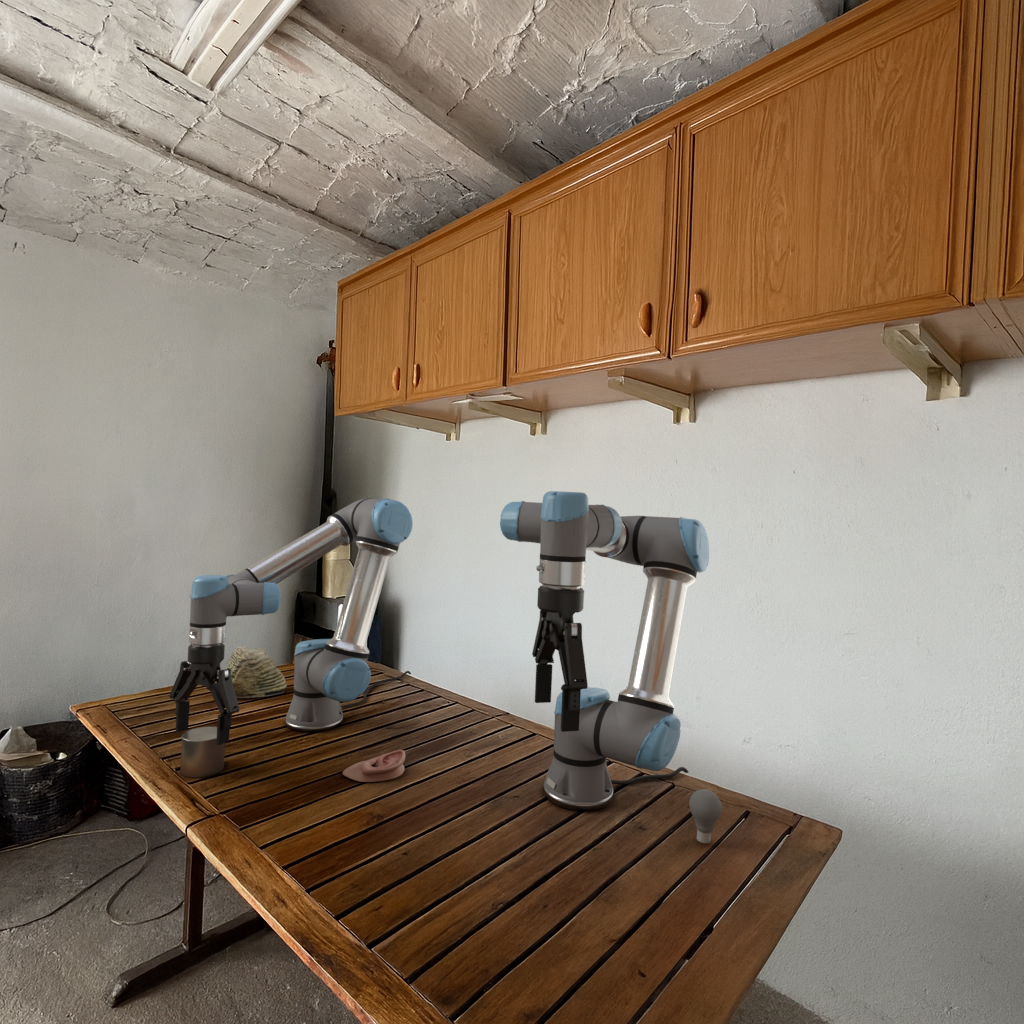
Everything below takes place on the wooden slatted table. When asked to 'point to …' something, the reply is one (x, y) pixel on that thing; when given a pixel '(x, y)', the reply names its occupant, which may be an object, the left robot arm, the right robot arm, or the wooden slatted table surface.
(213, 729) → the can
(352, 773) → the anatomical model
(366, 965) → the wooden slatted table surface
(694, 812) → the light bulb
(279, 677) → the fossil
